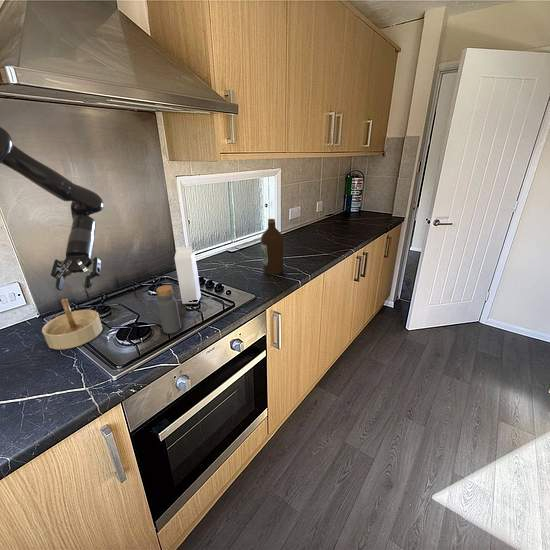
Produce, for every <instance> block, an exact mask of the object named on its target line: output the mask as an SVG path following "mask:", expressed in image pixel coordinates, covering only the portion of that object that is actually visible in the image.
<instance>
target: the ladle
mask: <svg viewBox="0 0 550 550" xmlns="http://www.w3.org/2000/svg"><path fill="white" fill-rule="evenodd" d="M60 302H61V305H62V308H63V310H64V314H66V316H67V319H68V322H69V325H70V327H68V328H67V329H66V330H65V332H66V334H67V333H70V332H74V331H77V330H79V329H82V328H83V325H81V324H76V323H75V320H74V318H73V315H72V312H73V311H72V309H71V306H70V303H69V300H68V299H67V298H62V299H61V301H60Z"/></svg>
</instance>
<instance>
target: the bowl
mask: <svg viewBox="0 0 550 550" xmlns="http://www.w3.org/2000/svg"><path fill="white" fill-rule="evenodd" d="M71 312H72V315H73V318H74V320H75V323H76V324H81V325H83V328H82V329H79V330H77V331H74V332H70V333H67V334H66V332H65V330H66V329H67V328H68V327H70V325H69V322H68V319H67V316H66V314H65V313H63V314H60V315H58V316H56V317H54V318H52V319H50V320H49V321H48V322H46V323H45V324H44V325H43V326H42V328H41V333H42V337H43V339H44V342H45V343H46V345H47V346H48V348H49V349H53V350H69V349H73V348H76V347H79V346H82V345H85V344H87V343H89V342H91V341H93V340H95V338H97V337H98V336H99V335H100V334H101V333H102V331H103V329H104V328H103V323H102V320H101V317H100V313H99V312H98V311H96V310H93V309H77V310H74V311H71Z"/></svg>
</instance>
